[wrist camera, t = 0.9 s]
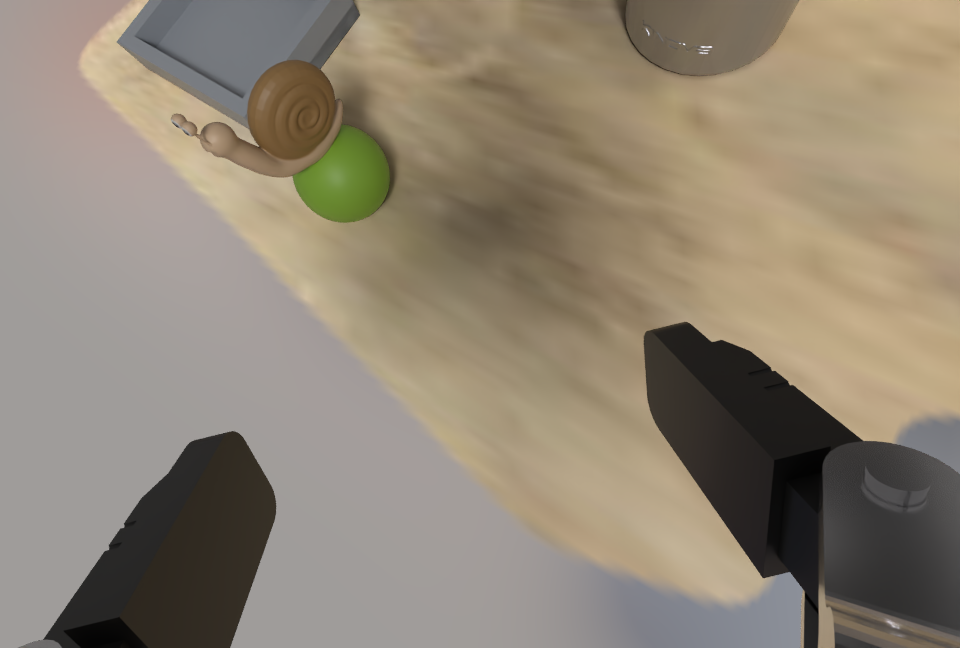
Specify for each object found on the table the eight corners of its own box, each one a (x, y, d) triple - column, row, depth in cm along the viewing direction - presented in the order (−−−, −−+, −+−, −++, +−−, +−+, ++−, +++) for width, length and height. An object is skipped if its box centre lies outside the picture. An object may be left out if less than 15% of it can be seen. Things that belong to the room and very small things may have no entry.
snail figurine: (296, 220, 31) (133, 95, 19) (357, 143, 31) (234, -25, 19) (355, 265, 29) (218, 160, 18) (419, 184, 30) (326, 29, 18)
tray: (233, -44, 36) (210, -78, 34) (359, 14, 33) (343, -18, 31) (146, 68, 36) (116, 42, 33) (267, 140, 32) (243, 117, 30)
